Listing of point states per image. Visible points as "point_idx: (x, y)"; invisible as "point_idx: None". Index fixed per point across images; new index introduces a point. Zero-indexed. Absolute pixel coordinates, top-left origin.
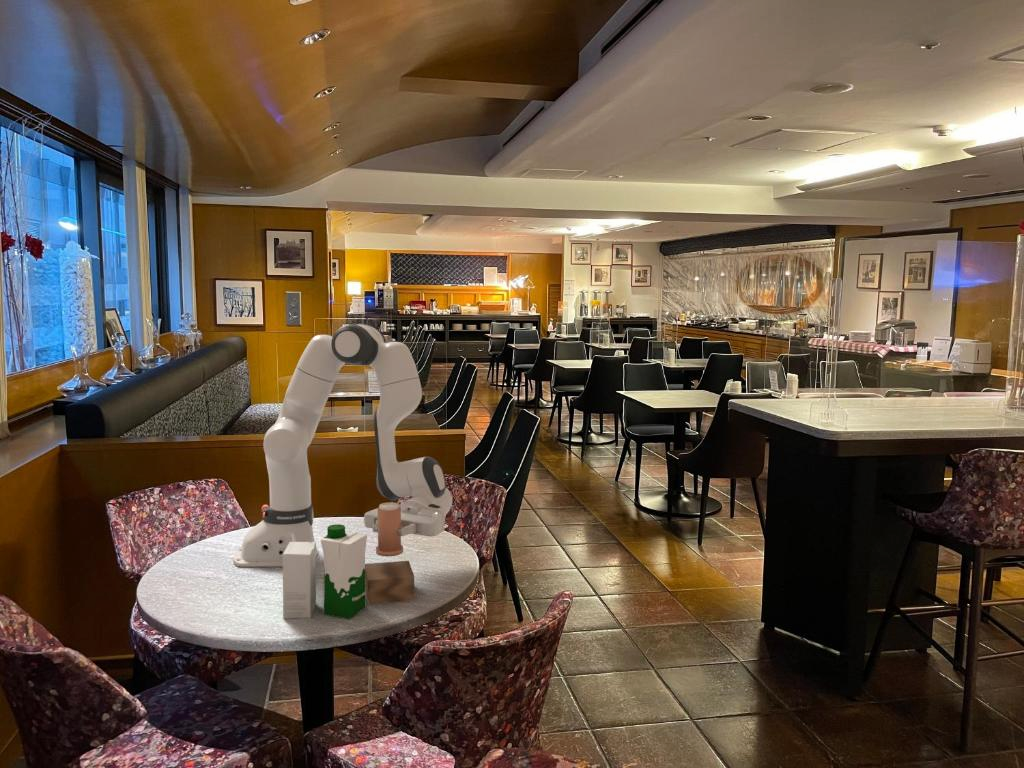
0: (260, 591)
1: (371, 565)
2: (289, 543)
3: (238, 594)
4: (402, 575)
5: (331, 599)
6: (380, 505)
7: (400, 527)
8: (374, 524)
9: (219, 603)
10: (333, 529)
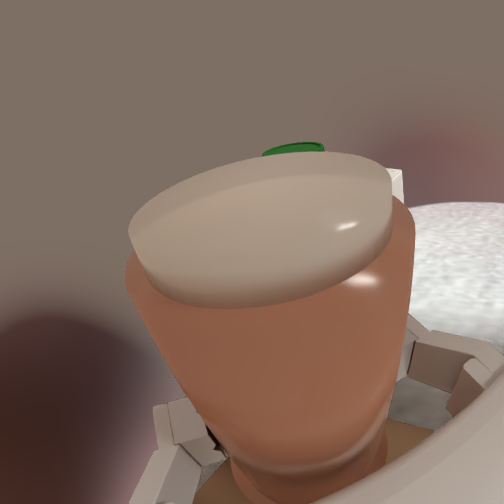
0: (480, 279)
1: (407, 446)
2: (391, 169)
3: (476, 257)
4: (228, 485)
5: None
6: (311, 154)
7: (202, 422)
8: (408, 315)
9: (449, 239)
10: (275, 147)
